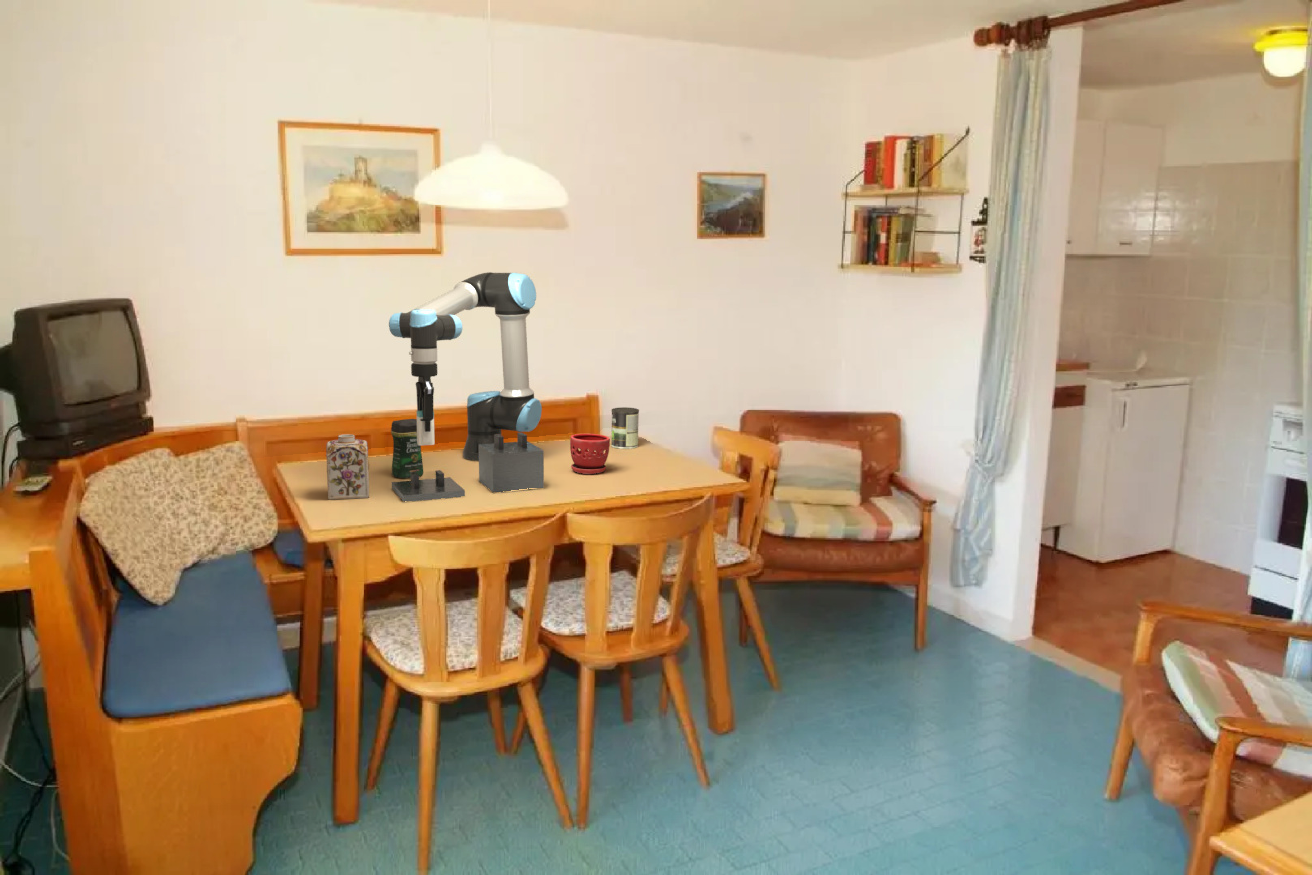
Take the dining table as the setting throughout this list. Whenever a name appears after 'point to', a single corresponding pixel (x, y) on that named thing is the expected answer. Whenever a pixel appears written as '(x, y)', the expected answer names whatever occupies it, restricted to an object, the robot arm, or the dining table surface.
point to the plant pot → (589, 453)
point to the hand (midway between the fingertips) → (425, 440)
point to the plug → (419, 430)
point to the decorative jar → (347, 468)
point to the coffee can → (625, 428)
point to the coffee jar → (406, 449)
